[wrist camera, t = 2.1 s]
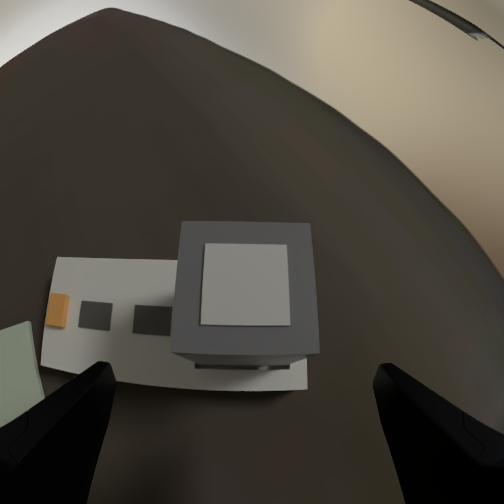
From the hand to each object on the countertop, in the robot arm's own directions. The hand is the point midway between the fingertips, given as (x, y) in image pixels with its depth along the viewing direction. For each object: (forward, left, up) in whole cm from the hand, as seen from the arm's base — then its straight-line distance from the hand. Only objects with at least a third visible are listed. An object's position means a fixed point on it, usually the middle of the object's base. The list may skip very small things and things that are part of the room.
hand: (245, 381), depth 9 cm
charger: (+3, -1, -9) cm, 10 cm away
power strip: (+5, +4, -10) cm, 12 cm away
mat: (+4, +20, -10) cm, 23 cm away
